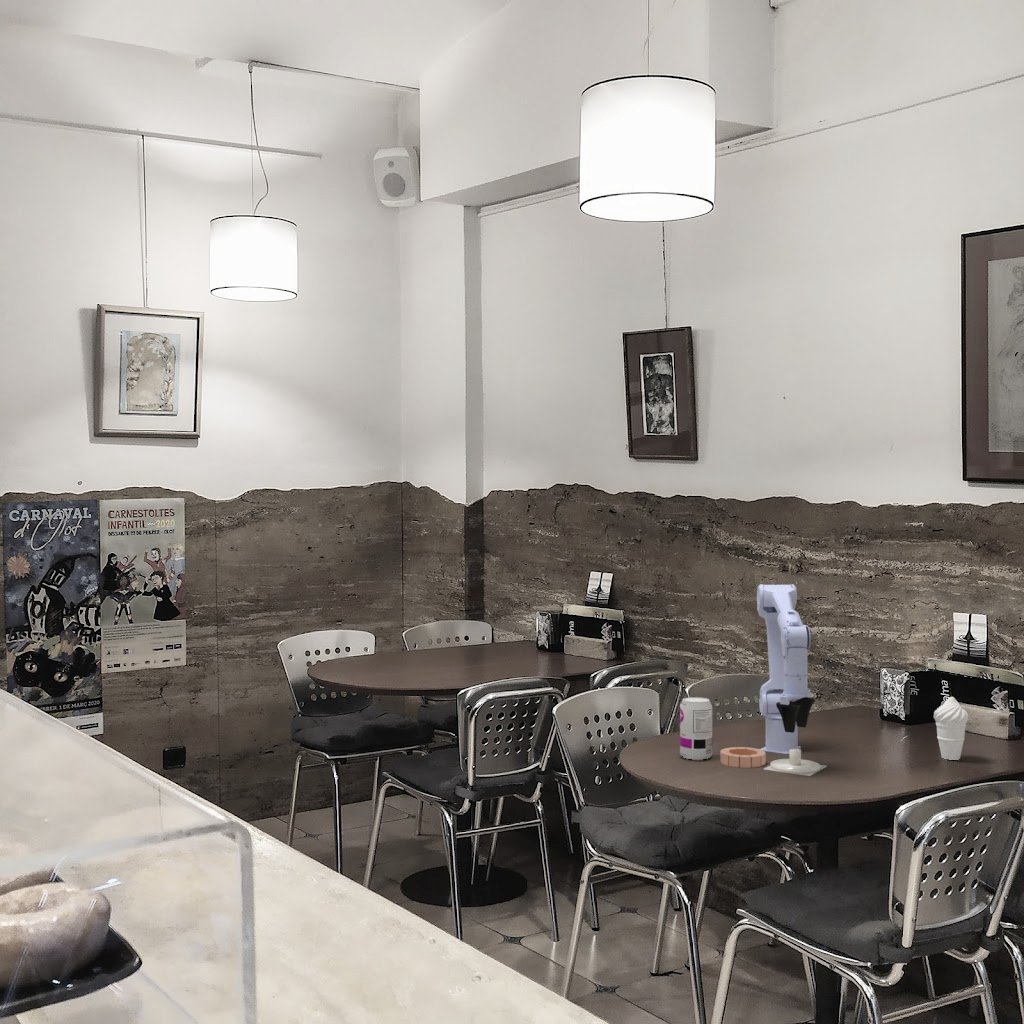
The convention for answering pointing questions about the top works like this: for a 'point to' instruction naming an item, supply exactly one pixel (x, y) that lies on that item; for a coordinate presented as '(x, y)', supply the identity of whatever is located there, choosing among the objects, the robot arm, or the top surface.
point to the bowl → (743, 757)
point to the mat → (797, 773)
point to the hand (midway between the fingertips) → (795, 729)
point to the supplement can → (696, 728)
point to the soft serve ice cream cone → (951, 728)
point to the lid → (795, 764)
